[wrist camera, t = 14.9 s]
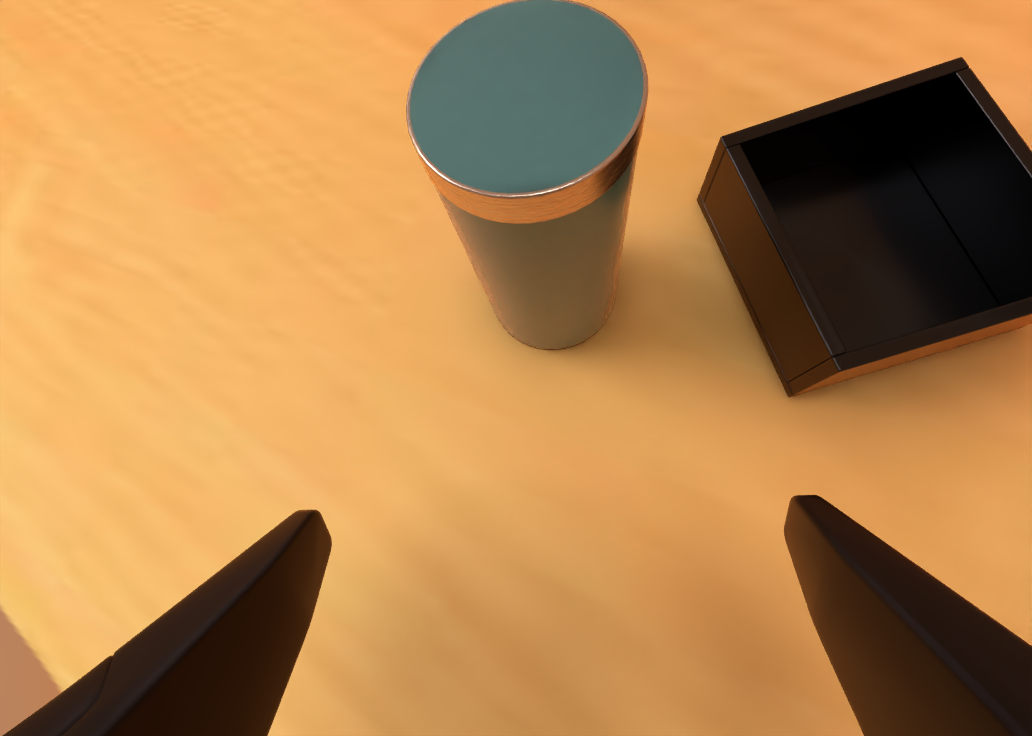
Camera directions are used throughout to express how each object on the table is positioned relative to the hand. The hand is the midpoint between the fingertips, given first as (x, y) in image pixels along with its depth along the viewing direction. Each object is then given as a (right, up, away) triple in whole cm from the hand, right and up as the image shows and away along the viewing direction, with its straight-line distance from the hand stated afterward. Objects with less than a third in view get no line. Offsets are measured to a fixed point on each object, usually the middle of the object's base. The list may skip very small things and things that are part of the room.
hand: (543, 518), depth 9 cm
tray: (+15, +8, +14) cm, 22 cm away
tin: (+1, +7, +15) cm, 17 cm away
